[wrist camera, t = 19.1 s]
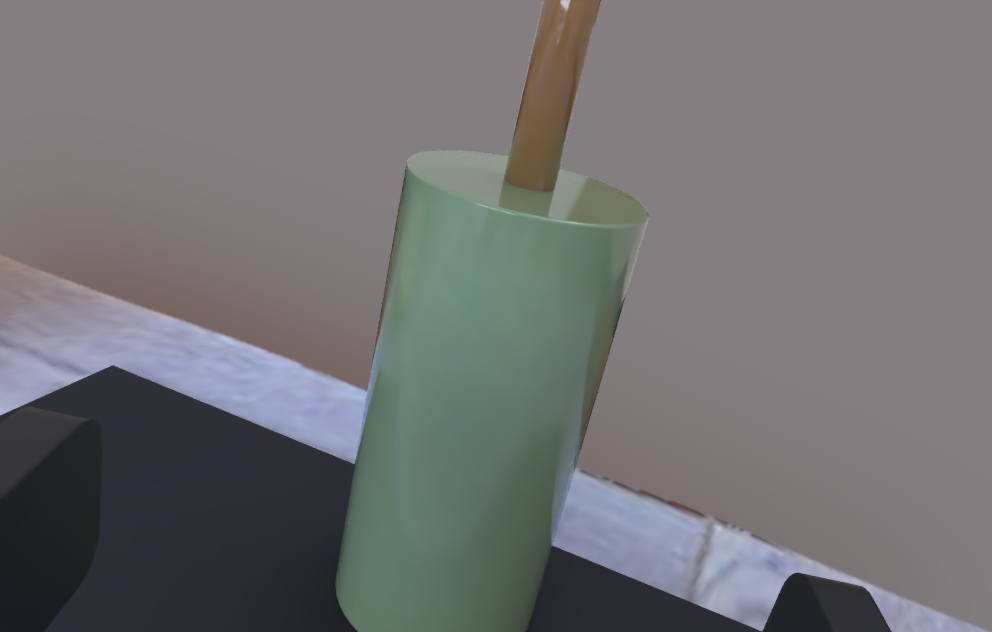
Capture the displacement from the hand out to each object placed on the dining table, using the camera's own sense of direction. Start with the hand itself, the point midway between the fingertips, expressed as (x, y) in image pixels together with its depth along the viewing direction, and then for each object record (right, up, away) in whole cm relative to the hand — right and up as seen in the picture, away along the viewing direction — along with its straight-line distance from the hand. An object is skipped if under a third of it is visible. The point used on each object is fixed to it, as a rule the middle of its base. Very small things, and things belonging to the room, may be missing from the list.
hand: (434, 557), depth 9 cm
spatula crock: (-1, -4, +12) cm, 13 cm away
